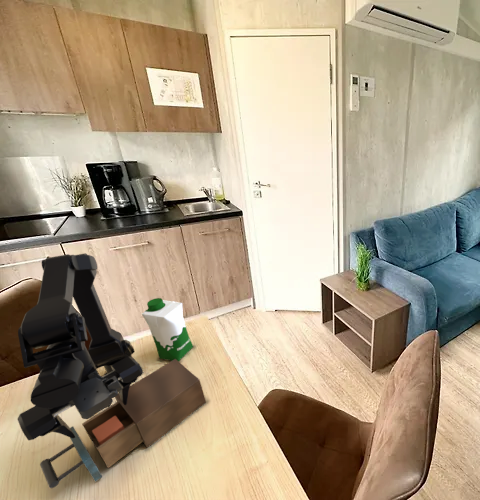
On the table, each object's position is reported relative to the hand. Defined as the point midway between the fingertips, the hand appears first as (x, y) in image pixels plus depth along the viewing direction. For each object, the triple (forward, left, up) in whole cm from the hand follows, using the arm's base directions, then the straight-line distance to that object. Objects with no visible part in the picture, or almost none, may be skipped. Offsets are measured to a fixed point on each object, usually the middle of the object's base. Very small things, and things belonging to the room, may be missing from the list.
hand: (100, 419), depth 63 cm
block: (0, 0, -8) cm, 8 cm away
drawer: (0, -1, -9) cm, 9 cm away
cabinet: (0, +12, -10) cm, 15 cm away
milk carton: (-19, +24, -10) cm, 32 cm away
